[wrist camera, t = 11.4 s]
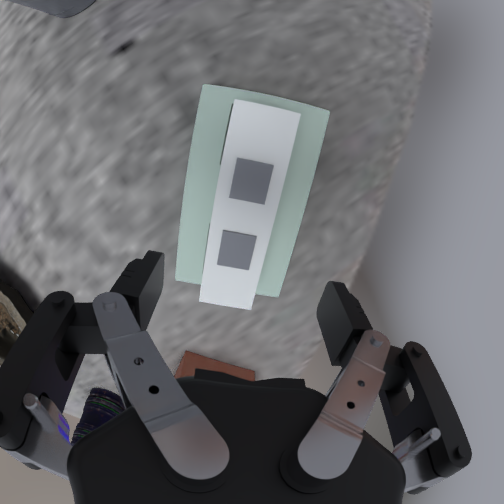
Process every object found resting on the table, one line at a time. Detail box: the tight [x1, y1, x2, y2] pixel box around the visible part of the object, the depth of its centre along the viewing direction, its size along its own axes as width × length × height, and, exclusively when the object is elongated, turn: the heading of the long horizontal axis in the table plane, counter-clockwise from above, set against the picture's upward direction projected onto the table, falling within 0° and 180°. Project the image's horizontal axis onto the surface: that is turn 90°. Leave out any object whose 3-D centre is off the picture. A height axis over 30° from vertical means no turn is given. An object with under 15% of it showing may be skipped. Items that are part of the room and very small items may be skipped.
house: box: [174, 351, 255, 381], centre depth 38 cm, size 12×20×12 cm, turn 155°
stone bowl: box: [0, 281, 34, 365], centre depth 32 cm, size 25×25×9 cm
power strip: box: [199, 99, 301, 310], centre depth 25 cm, size 18×5×7 cm, turn 168°
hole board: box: [175, 84, 330, 297], centre depth 27 cm, size 21×12×2 cm, turn 168°
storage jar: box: [70, 388, 126, 446], centre depth 40 cm, size 10×10×15 cm
